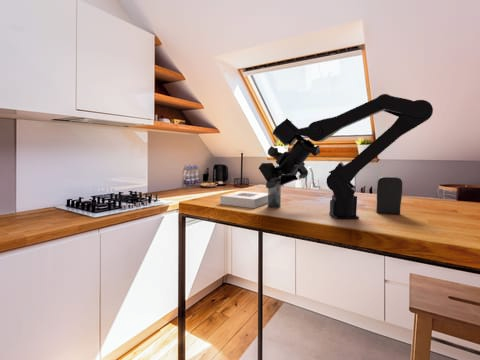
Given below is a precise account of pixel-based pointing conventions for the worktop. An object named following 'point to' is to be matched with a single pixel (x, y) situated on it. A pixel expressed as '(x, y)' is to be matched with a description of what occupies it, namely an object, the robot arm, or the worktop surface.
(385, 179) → the battery
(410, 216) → the worktop surface
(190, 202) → the worktop surface
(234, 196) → the hole block
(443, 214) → the worktop surface
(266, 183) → the robot arm
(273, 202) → the translucent grey tall cylinder
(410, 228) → the worktop surface
